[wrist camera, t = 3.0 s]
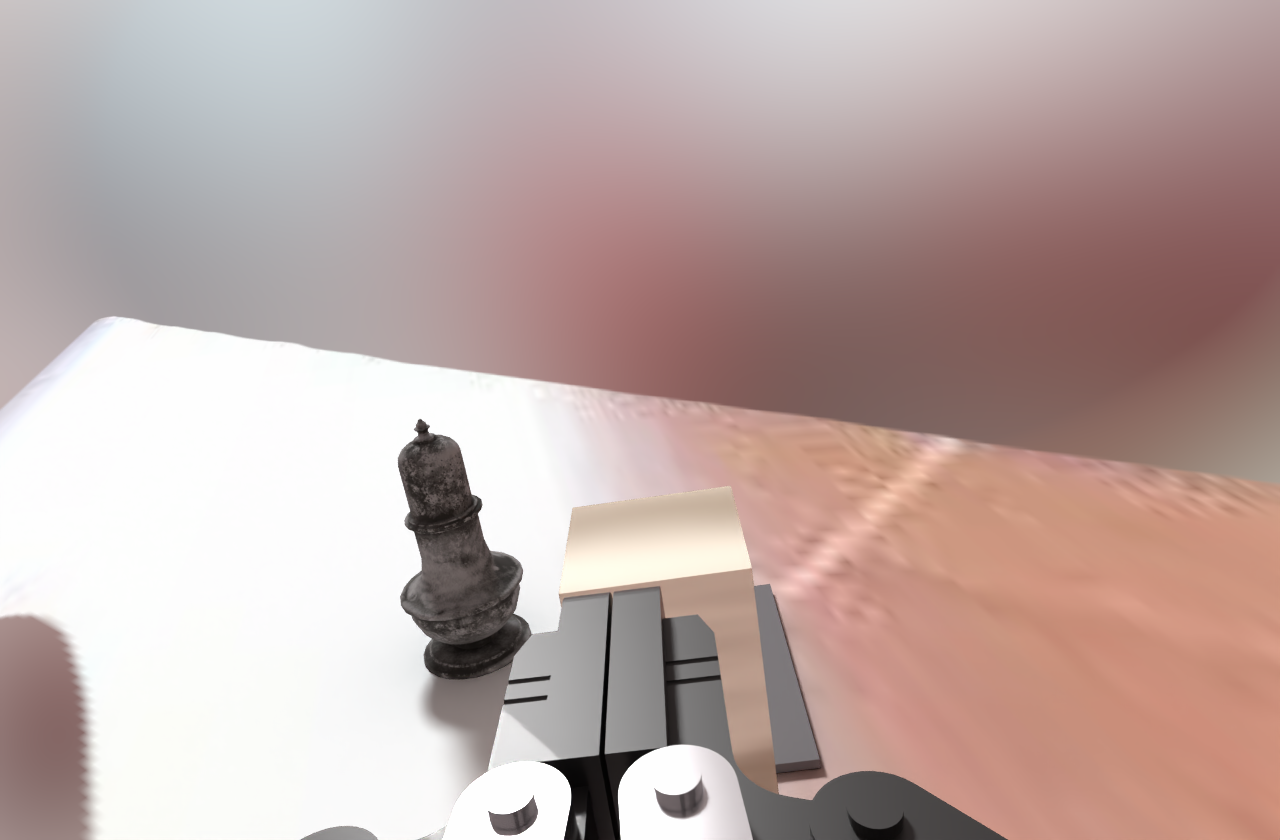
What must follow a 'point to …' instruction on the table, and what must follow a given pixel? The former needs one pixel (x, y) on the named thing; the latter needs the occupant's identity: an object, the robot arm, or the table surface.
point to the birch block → (686, 592)
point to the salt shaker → (456, 567)
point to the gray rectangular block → (783, 692)
